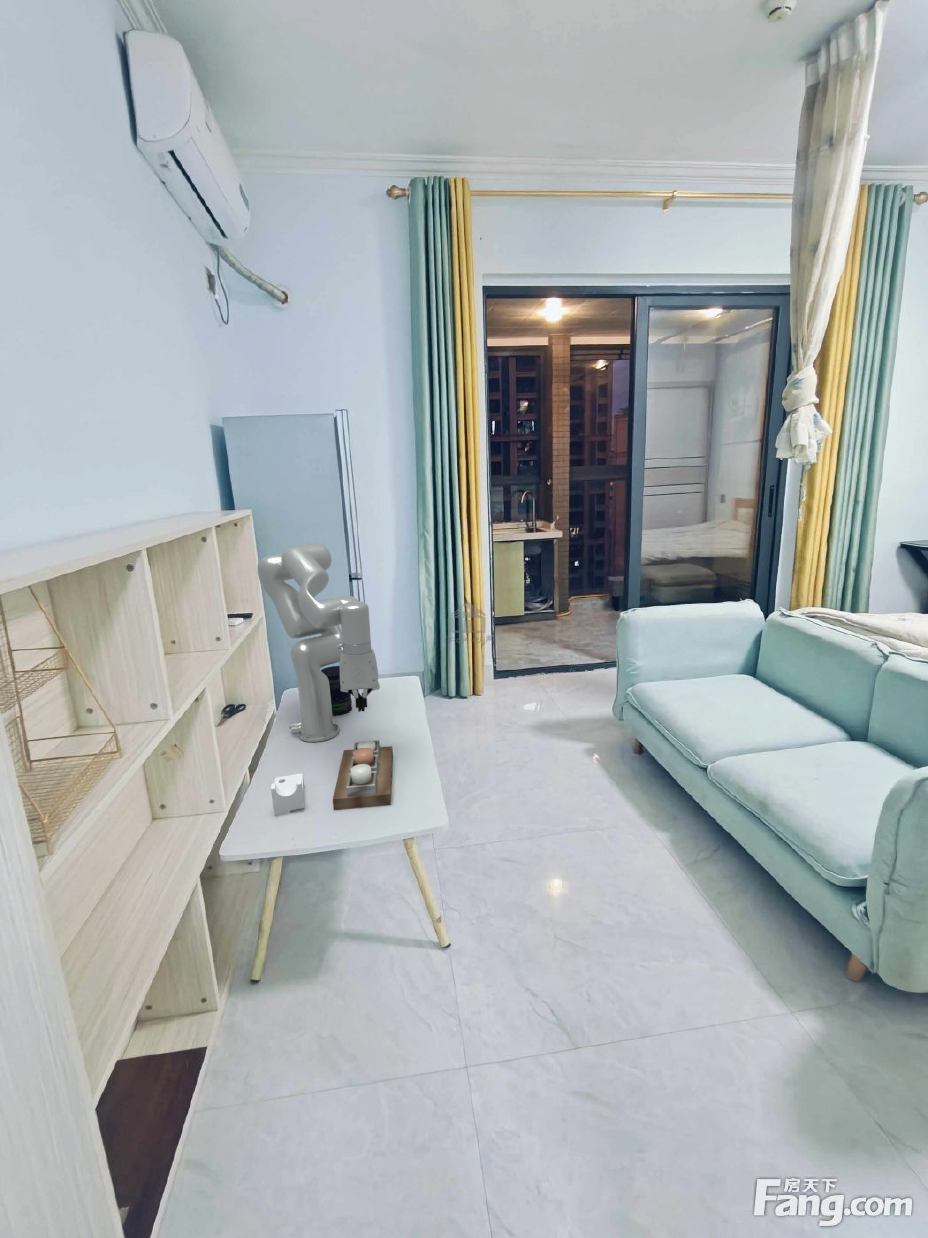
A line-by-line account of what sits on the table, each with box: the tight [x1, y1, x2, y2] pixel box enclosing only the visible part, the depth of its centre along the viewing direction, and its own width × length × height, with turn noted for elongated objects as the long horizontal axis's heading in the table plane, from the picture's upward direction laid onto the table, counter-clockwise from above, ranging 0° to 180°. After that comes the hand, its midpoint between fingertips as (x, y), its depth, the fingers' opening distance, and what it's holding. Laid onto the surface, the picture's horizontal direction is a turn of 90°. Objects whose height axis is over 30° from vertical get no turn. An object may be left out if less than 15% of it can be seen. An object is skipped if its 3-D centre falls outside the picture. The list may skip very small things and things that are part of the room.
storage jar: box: [320, 665, 353, 717], centre depth 201 cm, size 10×10×15 cm
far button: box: [357, 740, 376, 751], centre depth 163 cm, size 5×5×3 cm
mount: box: [332, 739, 394, 811], centre depth 155 cm, size 14×26×6 cm, turn 6°
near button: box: [351, 764, 372, 785], centre depth 145 cm, size 5×5×3 cm
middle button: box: [354, 748, 374, 766], centre depth 154 cm, size 5×5×3 cm
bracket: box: [270, 773, 305, 817], centre depth 147 cm, size 13×7×8 cm, turn 16°
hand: (361, 709), depth 161 cm, fingers closed
